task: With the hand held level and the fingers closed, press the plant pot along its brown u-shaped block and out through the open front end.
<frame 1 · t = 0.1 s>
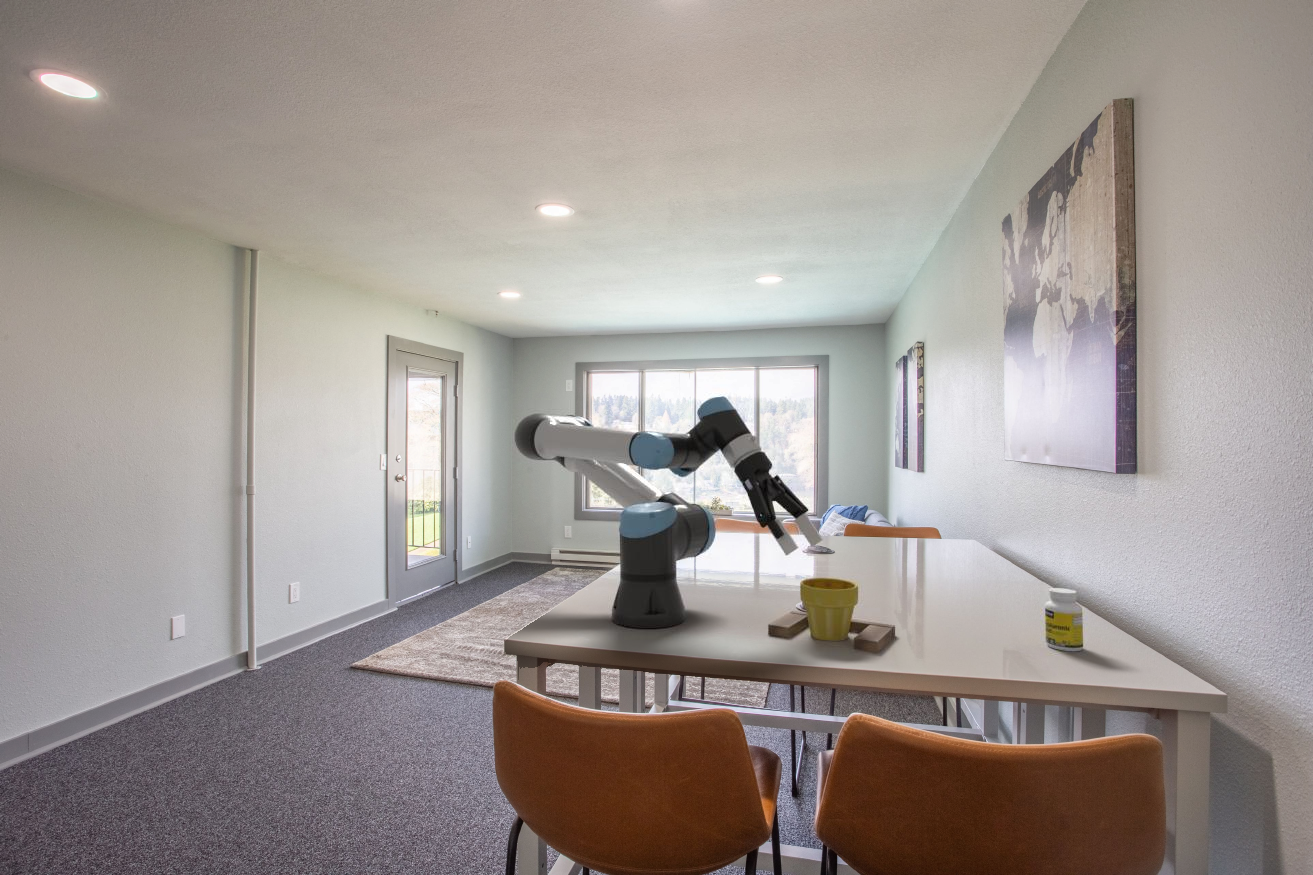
hand: (805, 547, 122), 15 cm above the table, tool tilted 35°, fingers open, 13 cm apart
plant pot: (829, 637, 114), on the table
supplement bottle: (1064, 648, 106), on the table
brown u-shaped block: (829, 635, 114), on the table
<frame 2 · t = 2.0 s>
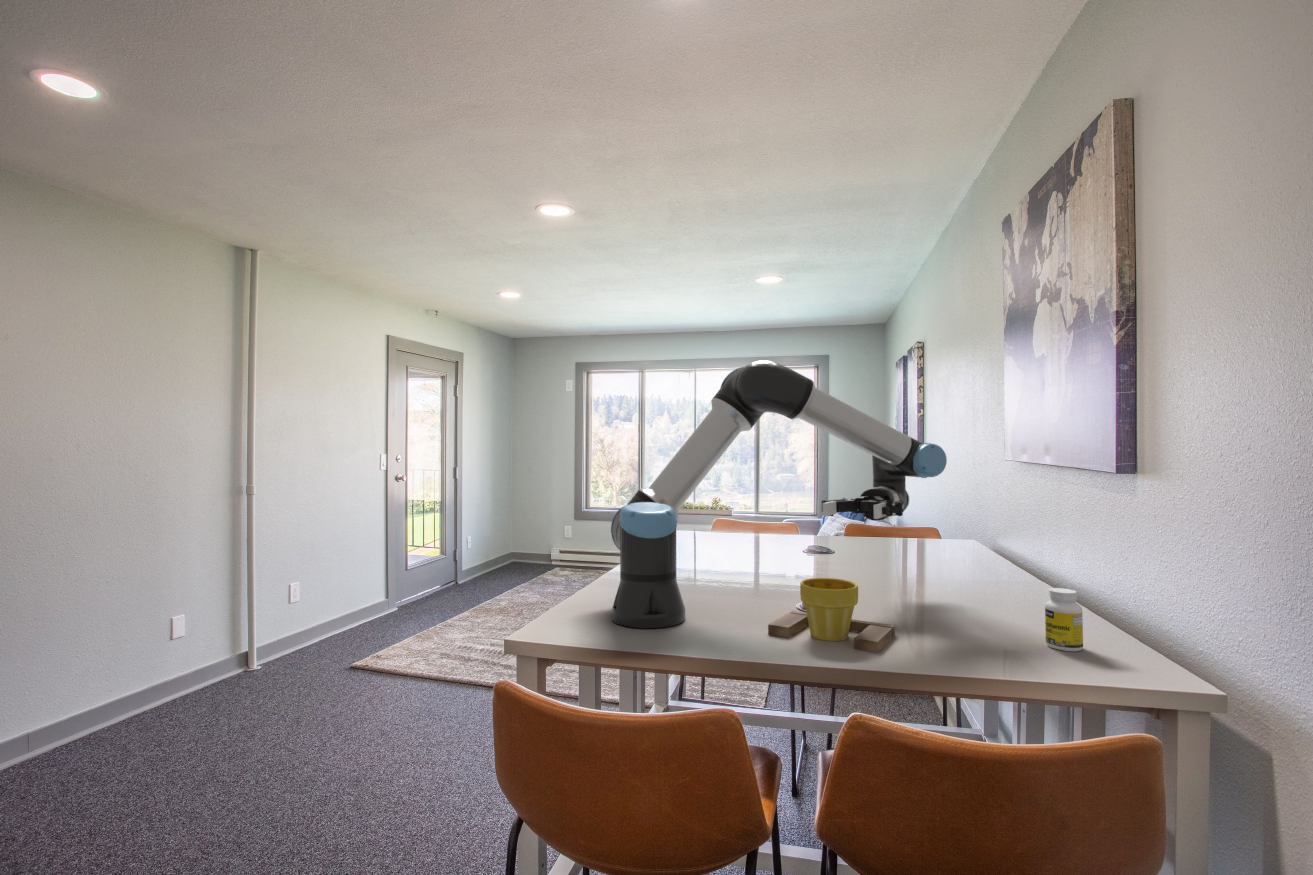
hand: (849, 510, 125), 22 cm above the table, tool horizontal, fingers open, 10 cm apart
nothing on the table moved.
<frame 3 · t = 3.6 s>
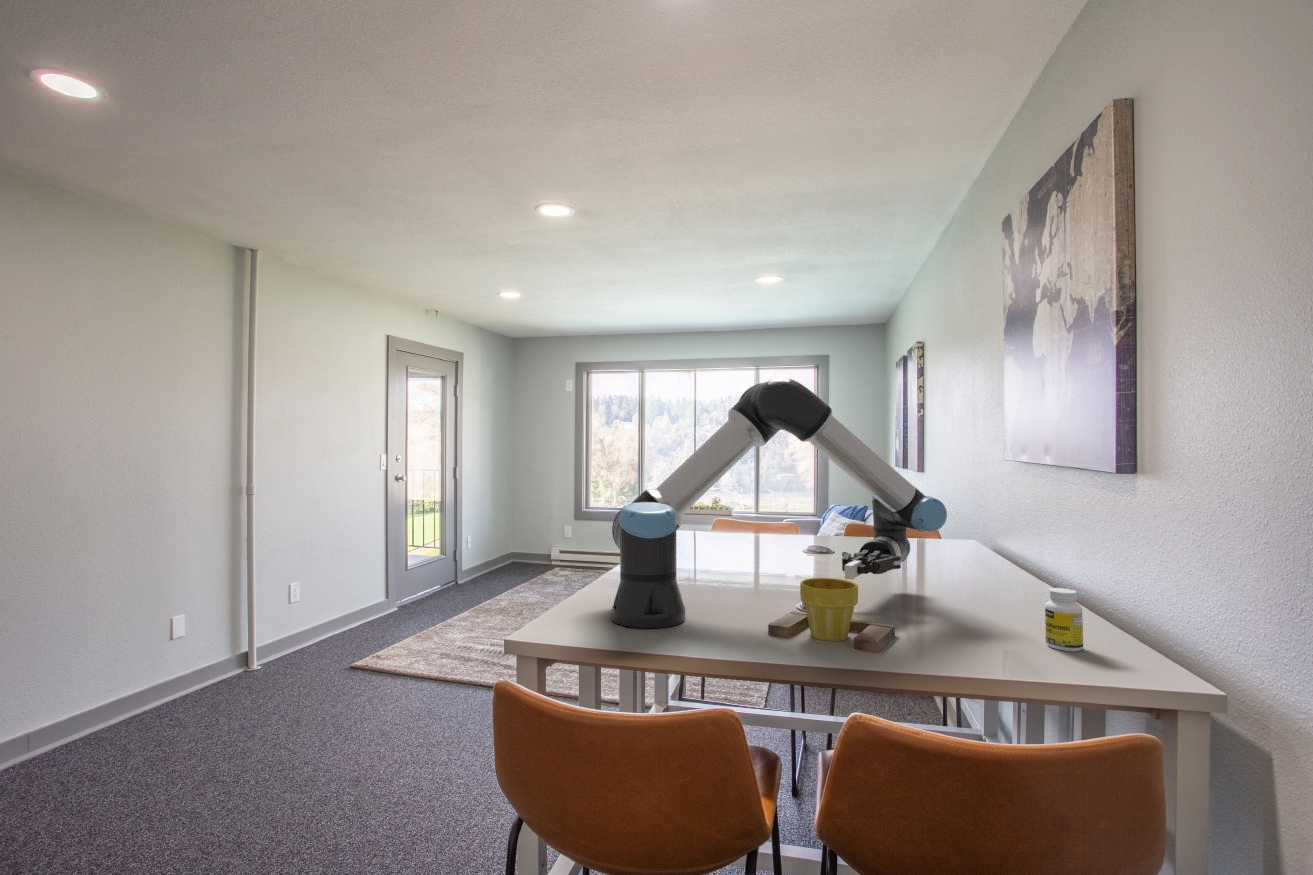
hand: (848, 572, 123), 10 cm above the table, tool horizontal, fingers closed
nothing on the table moved.
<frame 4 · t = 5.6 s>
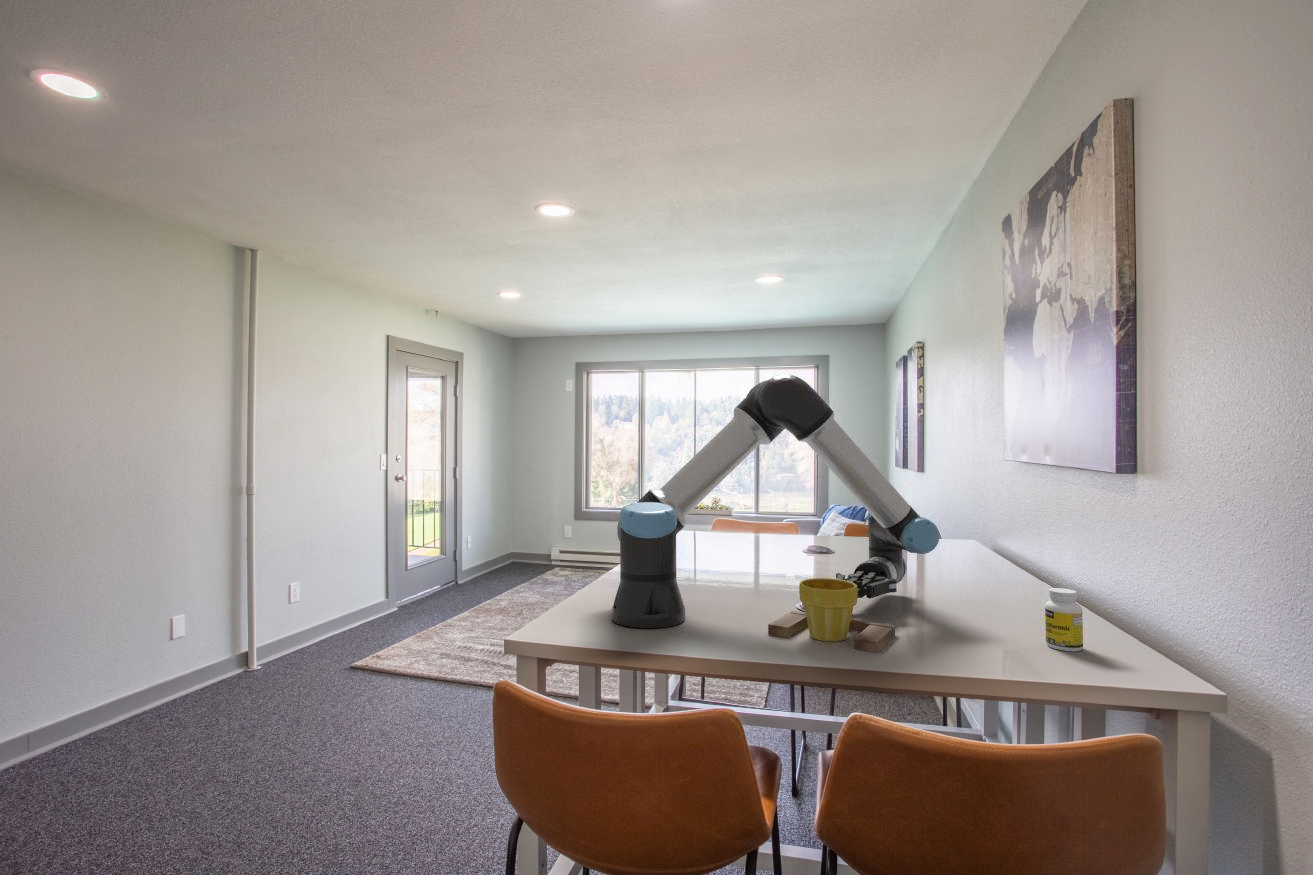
hand: (841, 596, 117), 6 cm above the table, tool horizontal, fingers closed
plant pot: (828, 637, 113), on the table, touching gripper
everything else where it was.
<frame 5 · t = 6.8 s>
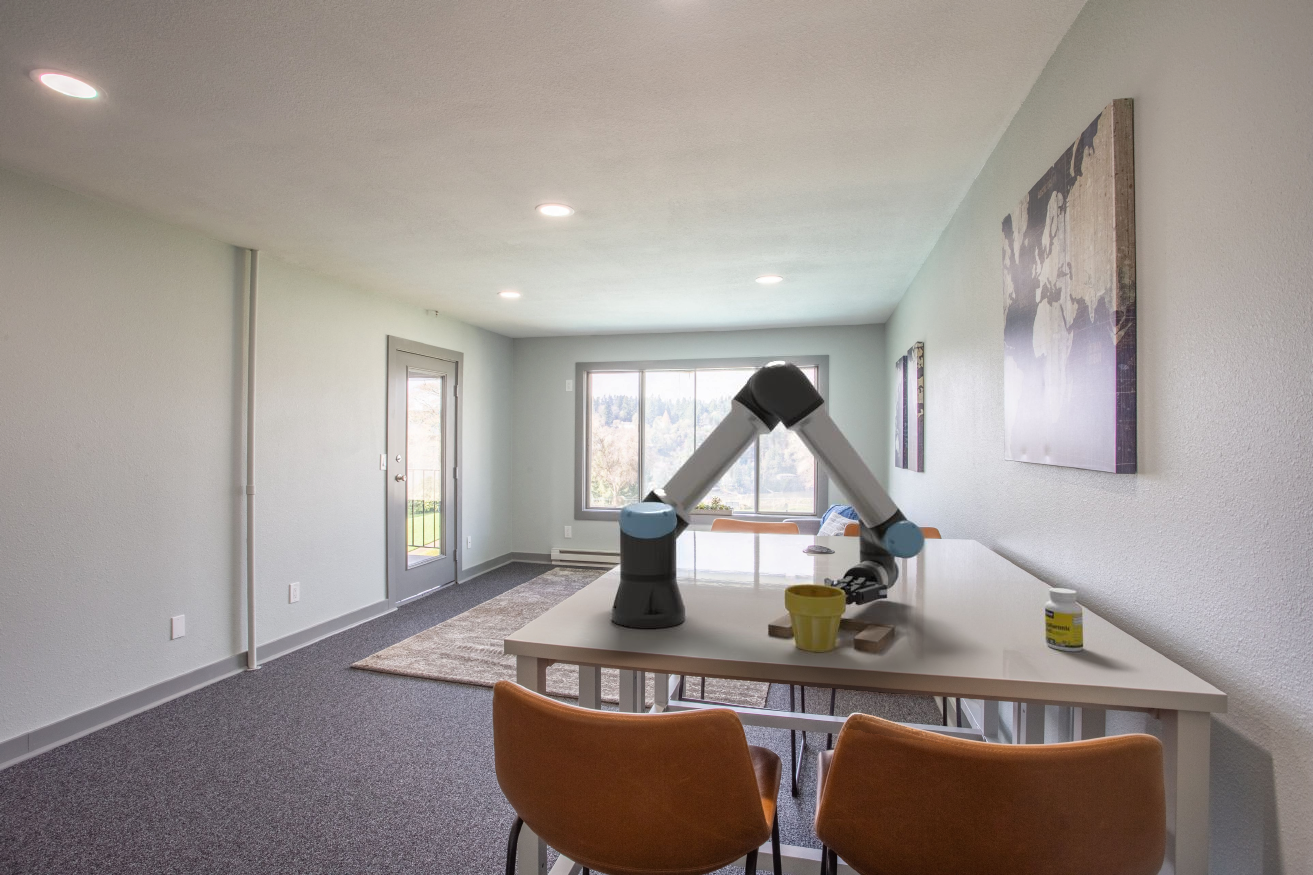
hand: (828, 603, 112), 6 cm above the table, tool horizontal, fingers closed
plant pot: (815, 647, 108), on the table, touching gripper
everything else where it was.
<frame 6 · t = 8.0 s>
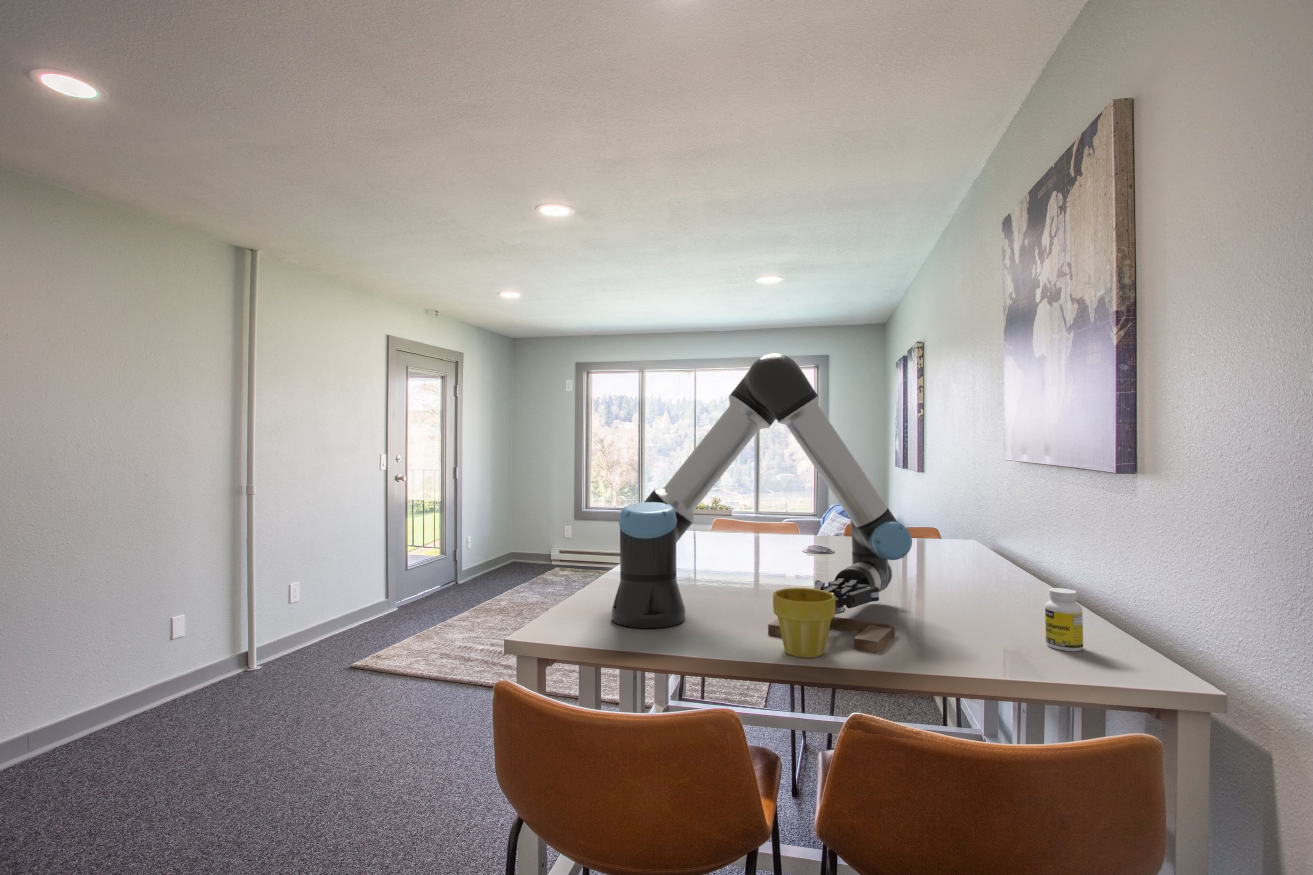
hand: (818, 607, 109), 7 cm above the table, tool horizontal, fingers closed
plant pot: (804, 652, 105), on the table, touching gripper
everything else where it was.
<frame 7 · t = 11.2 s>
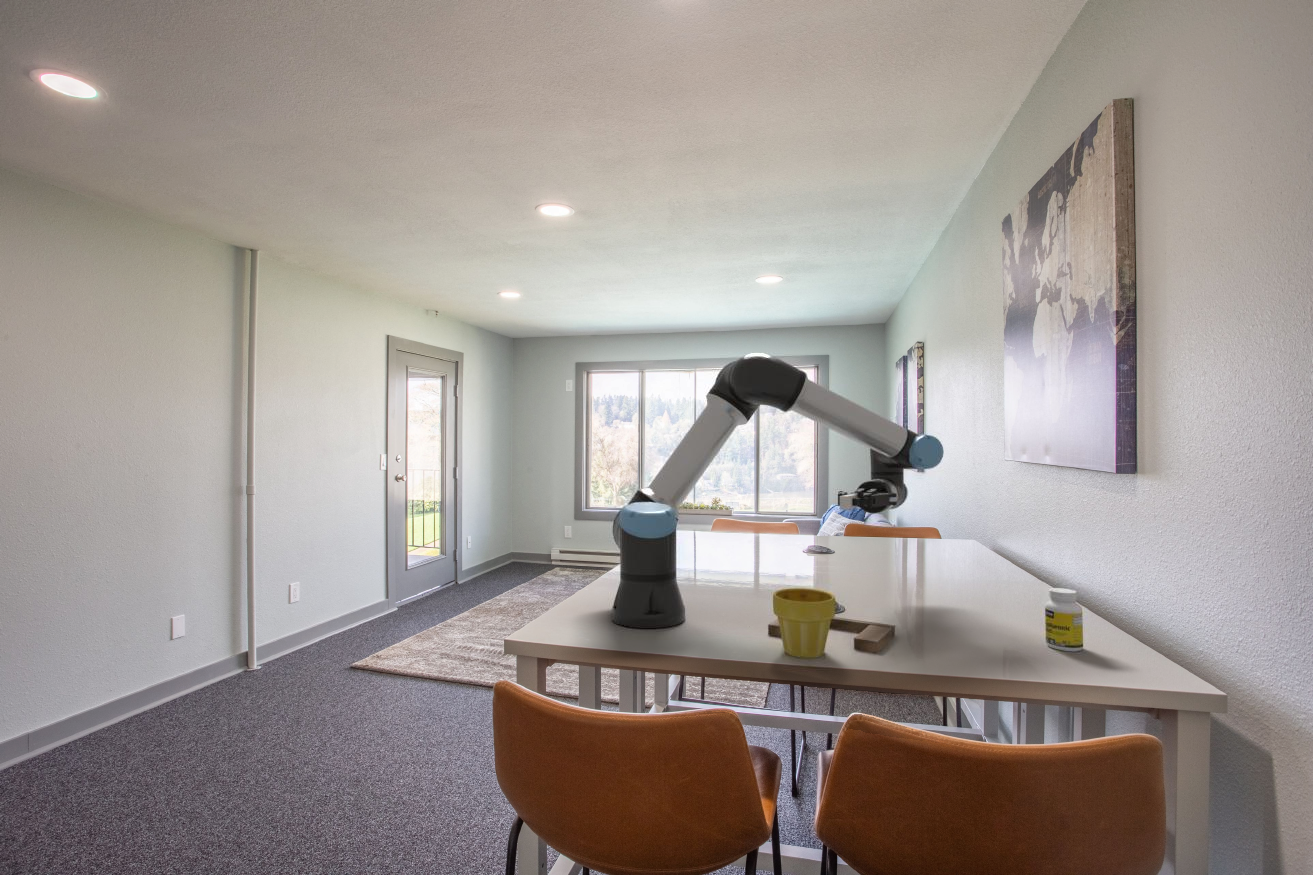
hand: (843, 503, 123), 24 cm above the table, tool horizontal, fingers closed
plant pot: (804, 653, 105), on the table
everything else where it was.
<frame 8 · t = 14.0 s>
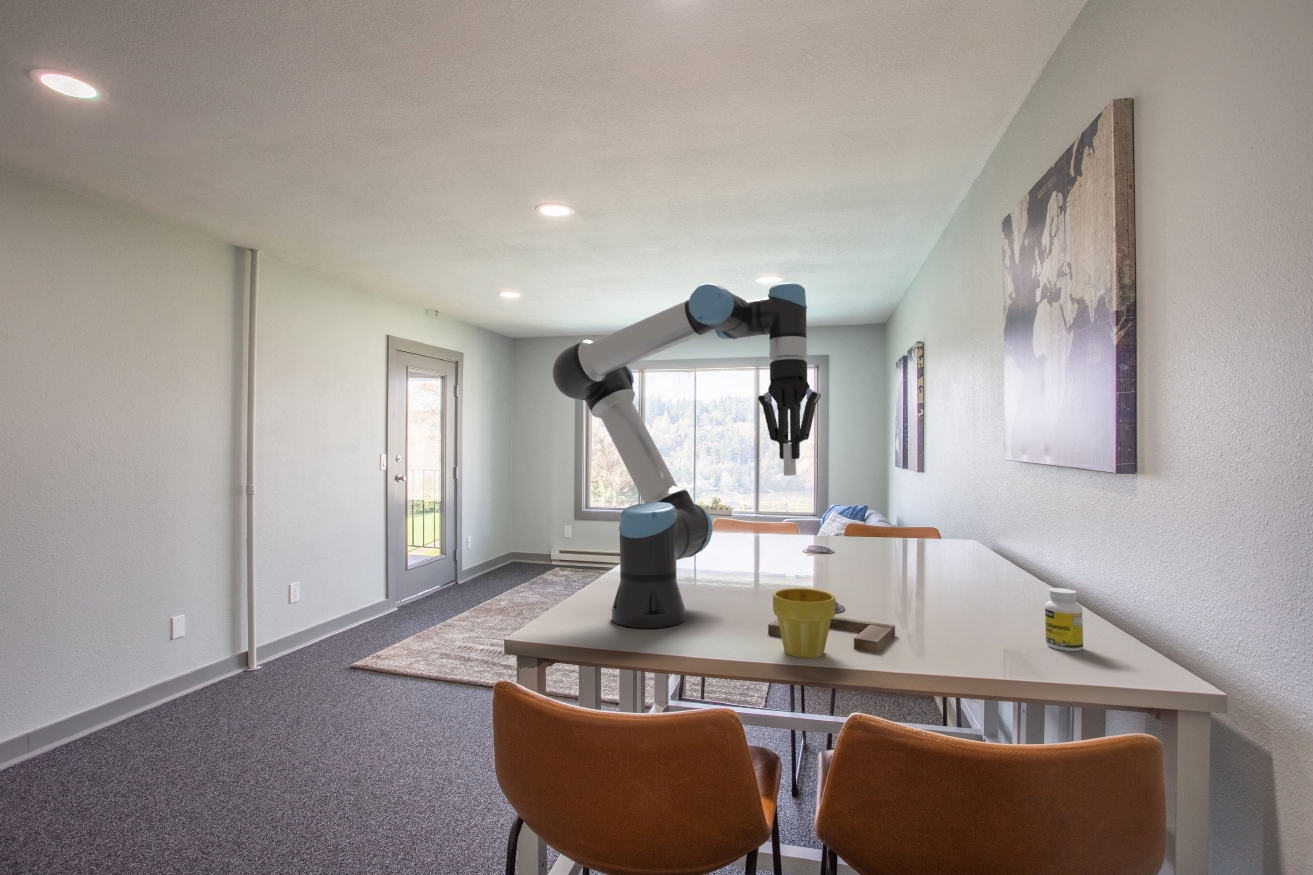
hand: (789, 475, 126), 29 cm above the table, tool pointing down, fingers closed
nothing on the table moved.
at the end: plant pot inside the target area (1.7 cm from its centre), on the table; plant pot tilted 0°; plant pot moved 11.4 cm from its start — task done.
